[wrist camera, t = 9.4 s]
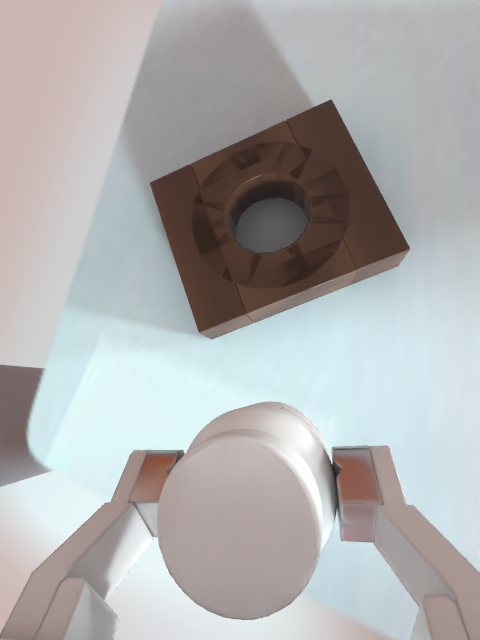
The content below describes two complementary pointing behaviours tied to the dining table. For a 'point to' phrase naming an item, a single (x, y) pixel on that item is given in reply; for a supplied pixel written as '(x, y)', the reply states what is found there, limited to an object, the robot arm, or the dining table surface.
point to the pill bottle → (248, 511)
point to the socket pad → (287, 182)
